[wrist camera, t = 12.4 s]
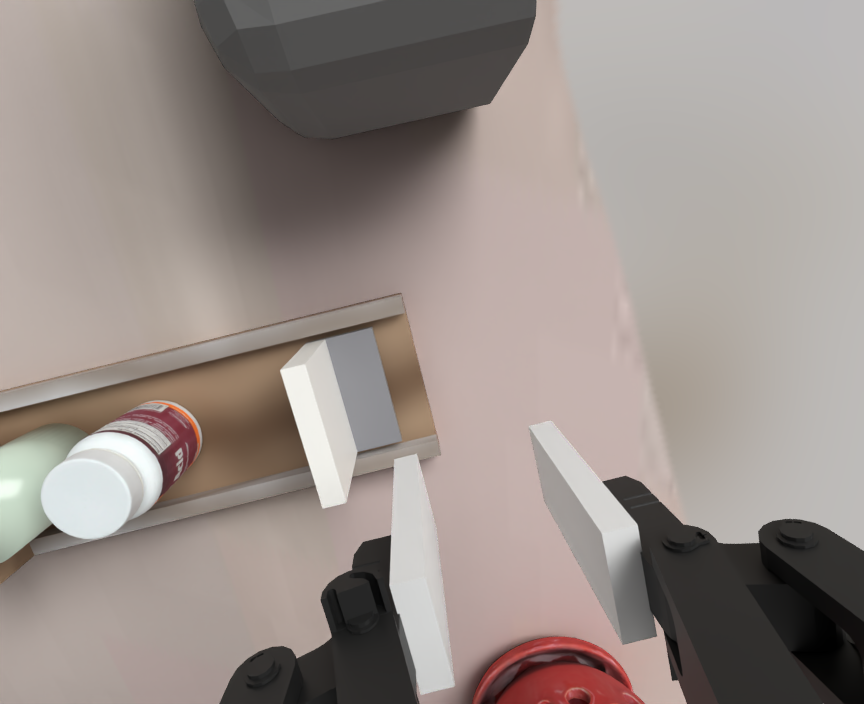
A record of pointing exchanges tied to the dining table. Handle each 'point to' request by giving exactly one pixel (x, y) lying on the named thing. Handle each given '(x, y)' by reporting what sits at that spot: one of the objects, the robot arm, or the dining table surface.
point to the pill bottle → (121, 469)
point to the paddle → (339, 407)
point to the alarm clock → (367, 57)
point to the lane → (227, 412)
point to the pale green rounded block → (29, 482)
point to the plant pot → (555, 675)
